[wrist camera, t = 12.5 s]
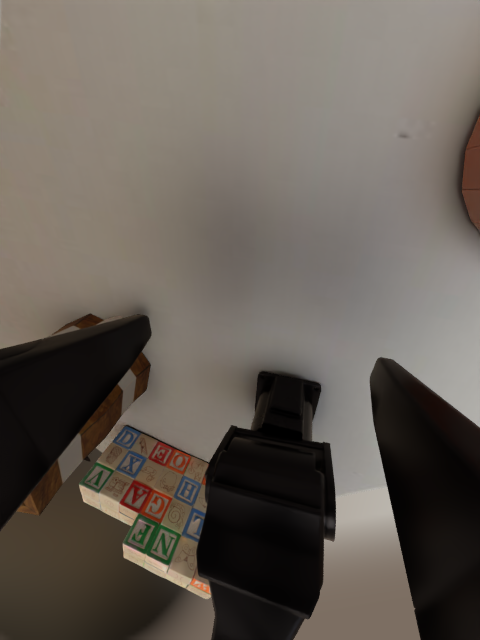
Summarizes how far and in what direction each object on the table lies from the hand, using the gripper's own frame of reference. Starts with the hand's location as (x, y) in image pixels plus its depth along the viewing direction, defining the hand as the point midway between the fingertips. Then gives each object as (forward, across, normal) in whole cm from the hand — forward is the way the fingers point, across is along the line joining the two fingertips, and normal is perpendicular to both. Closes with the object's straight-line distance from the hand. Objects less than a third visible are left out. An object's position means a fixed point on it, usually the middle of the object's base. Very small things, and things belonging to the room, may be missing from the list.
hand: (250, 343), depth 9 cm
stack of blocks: (+12, +13, +35) cm, 39 cm away
